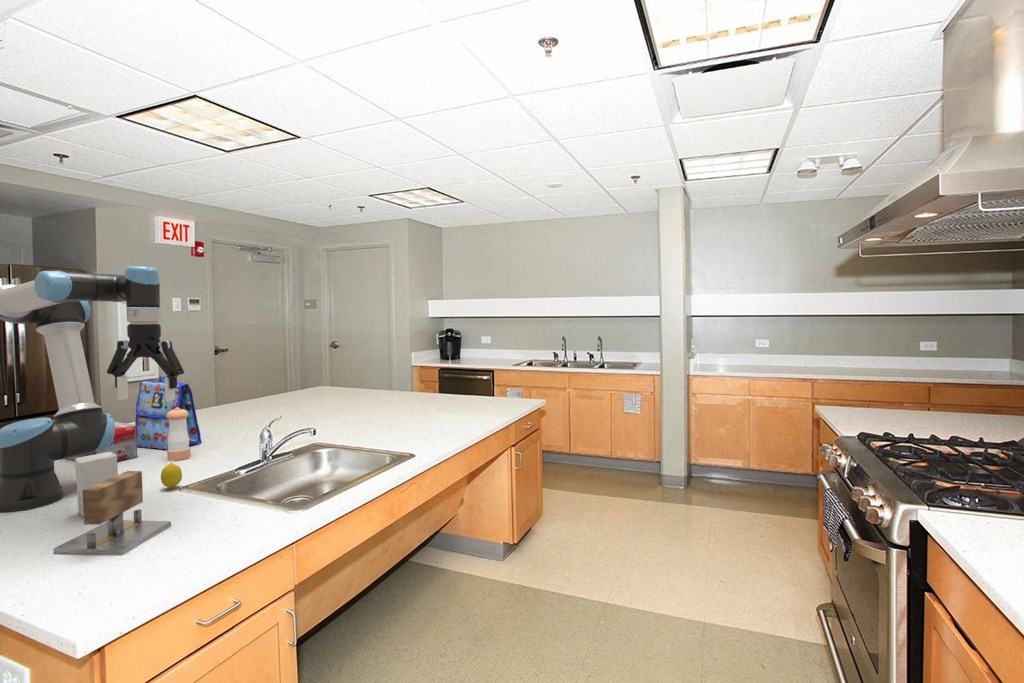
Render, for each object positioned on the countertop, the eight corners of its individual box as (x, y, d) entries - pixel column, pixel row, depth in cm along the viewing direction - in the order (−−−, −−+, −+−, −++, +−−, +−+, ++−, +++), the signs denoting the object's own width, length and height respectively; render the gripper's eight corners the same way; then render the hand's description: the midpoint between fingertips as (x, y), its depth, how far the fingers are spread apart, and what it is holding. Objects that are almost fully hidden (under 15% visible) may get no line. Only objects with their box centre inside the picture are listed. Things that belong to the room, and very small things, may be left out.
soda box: (140, 457, 194) (139, 424, 193) (97, 468, 181) (95, 432, 181) (82, 445, 212) (81, 414, 211) (39, 453, 199) (37, 420, 198)
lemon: (158, 492, 157) (157, 466, 156) (165, 486, 162) (164, 461, 162) (178, 490, 158) (178, 465, 158) (185, 484, 164) (184, 460, 163)
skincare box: (114, 504, 147) (112, 450, 146) (121, 510, 143) (119, 455, 142) (76, 513, 140) (74, 457, 139) (82, 519, 136) (80, 461, 135)
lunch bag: (132, 447, 208) (129, 376, 206) (163, 439, 221) (161, 372, 219) (173, 451, 202) (170, 378, 200) (203, 443, 215) (201, 374, 213)
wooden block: (128, 501, 131) (127, 471, 131) (142, 501, 132) (141, 471, 131) (83, 524, 118) (82, 490, 117) (99, 524, 118) (98, 490, 117)
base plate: (53, 553, 117) (52, 526, 117) (110, 524, 133) (109, 501, 133) (122, 555, 117) (121, 528, 116) (171, 525, 133) (170, 502, 132)
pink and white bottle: (195, 455, 196) (193, 406, 195) (180, 461, 189) (179, 409, 188) (177, 455, 197) (175, 405, 196) (162, 460, 190) (160, 409, 188)
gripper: (88, 323, 138) (91, 401, 139) (178, 324, 137) (180, 403, 138) (111, 322, 146) (114, 396, 147) (197, 323, 144) (199, 398, 146)
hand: (146, 400), depth 143 cm, fingers open, 13 cm apart
